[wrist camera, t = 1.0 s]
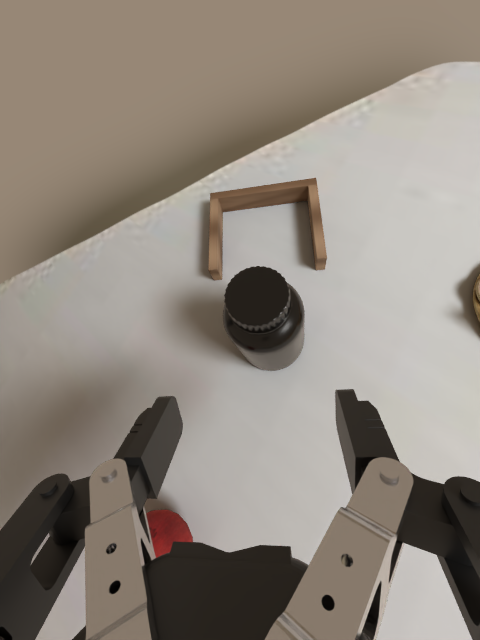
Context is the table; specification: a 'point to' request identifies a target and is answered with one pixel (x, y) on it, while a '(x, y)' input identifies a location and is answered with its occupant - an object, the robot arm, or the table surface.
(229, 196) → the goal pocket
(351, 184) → the table surface
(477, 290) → the toy sandwich meal
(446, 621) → the table surface
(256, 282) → the supplement bottle
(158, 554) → the onion
